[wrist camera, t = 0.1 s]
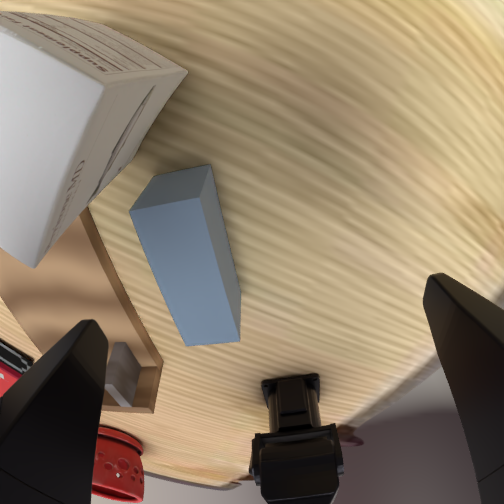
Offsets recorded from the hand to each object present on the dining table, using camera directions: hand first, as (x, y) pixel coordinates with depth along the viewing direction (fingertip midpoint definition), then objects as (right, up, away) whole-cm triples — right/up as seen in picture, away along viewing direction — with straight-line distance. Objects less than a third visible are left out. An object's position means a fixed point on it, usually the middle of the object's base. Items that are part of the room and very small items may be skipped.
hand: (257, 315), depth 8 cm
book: (-4, +3, +16) cm, 16 cm away
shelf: (-19, -2, +19) cm, 26 cm away
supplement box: (-9, +12, +10) cm, 18 cm away
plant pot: (-25, -32, +38) cm, 55 cm away
